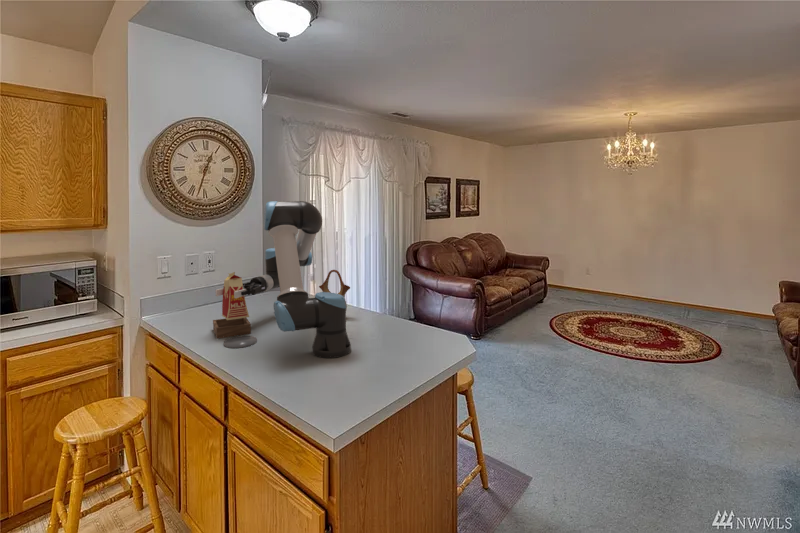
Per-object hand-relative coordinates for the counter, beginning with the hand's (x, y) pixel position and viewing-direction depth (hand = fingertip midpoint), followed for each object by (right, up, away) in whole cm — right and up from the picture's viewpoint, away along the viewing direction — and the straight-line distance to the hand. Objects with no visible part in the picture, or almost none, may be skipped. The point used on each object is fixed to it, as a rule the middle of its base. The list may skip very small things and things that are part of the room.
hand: (225, 294), depth 176 cm
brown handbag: (+41, -15, +34) cm, 55 cm away
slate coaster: (+7, -20, -1) cm, 21 cm away
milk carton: (+2, -10, +6) cm, 12 cm away
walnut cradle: (-2, -18, +13) cm, 22 cm away
